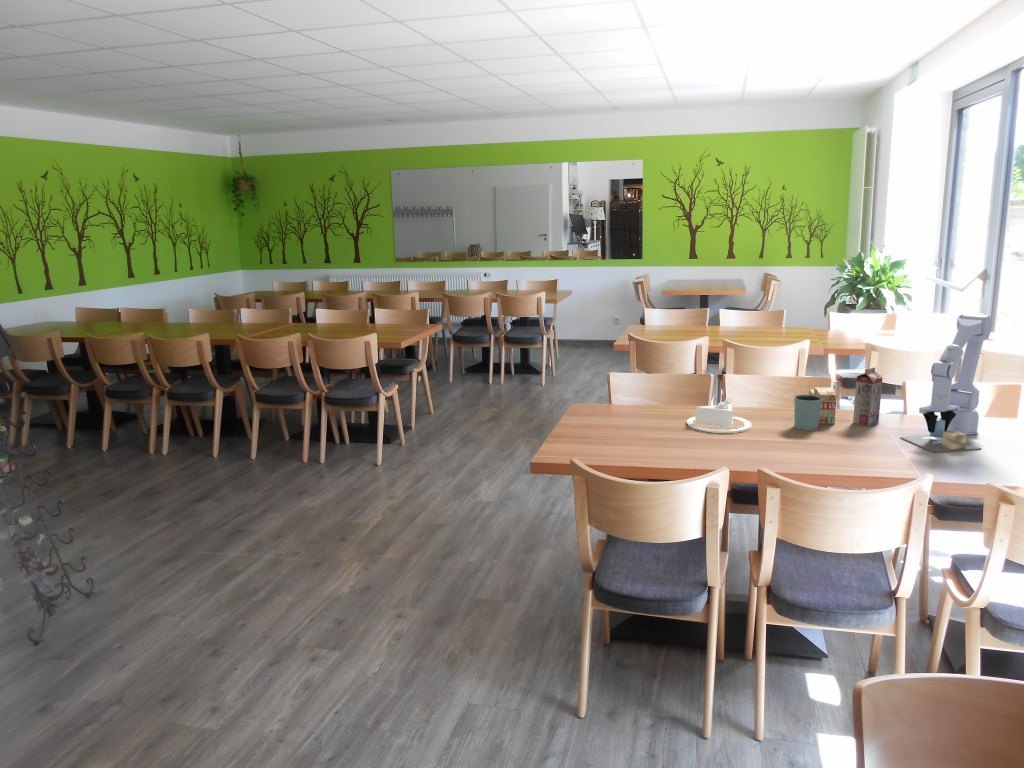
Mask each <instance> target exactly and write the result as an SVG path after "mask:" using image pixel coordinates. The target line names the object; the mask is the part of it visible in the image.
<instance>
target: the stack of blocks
mask: <svg viewBox="0 0 1024 768" xmlns="http://www.w3.org/2000/svg"><path fill="white" fill-rule="evenodd" d="M808 391H809V393H808V395H814V396H819V397H821V398H822V404H821V410H820V418H819V423H821V424H820V425H835V423H836V422H835V421H836V410H837V399H838V394H837V393H836V391H834V390H833V389H832V388H831V387H829V386H826V387H819V386H818V387H817V386H815V387H814V388H813V389H809V390H808Z"/></svg>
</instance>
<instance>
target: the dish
mask: <svg viewBox="0 0 1024 768" xmlns="http://www.w3.org/2000/svg"><path fill="white" fill-rule="evenodd" d="M733 402H734V400H733V398H731V397H727V398H726V399H724V401H721V402H718V403H717V404H715V405H701V406H695V410H694V411H695V414H694V415H695V416H691V417H688V419H687V420H686V425H687V424H688V425H689V426H690V427H692V428H695V429H698V430H702V431H707V432H714V433H713V434H715V433H735V432H742V433H744V432H743V431H745V432H747V431H746V430H748V431H750V430H751V429H752V428H751V427H753V424H752V422H751V421H750V420H747V419H746V418H743V417H739V416H736V415H735V416H734V410H733V408H732V406H731V404H732V403H733ZM733 419H736V420H739V421H742V422H743V423H744V425H745V426H744V427H741V428H738V429H730V430H727V429H725V428H724V427H728V428H732V424H733ZM694 420H695V423H700V424H706V425H713V426H720V427H722V428H723V429H722V428H719V429H709V428H703V427H700V426H697V425H695V424H694V423H693V421H694ZM690 427H689V428H690ZM750 428H751V429H750ZM749 429H750V430H749ZM735 434H736V433H735Z"/></svg>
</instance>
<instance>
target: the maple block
mask: <svg viewBox="0 0 1024 768" xmlns="http://www.w3.org/2000/svg"><path fill="white" fill-rule="evenodd" d="M966 442H967V435H966V434H964V433H961V432H958V431H945V432H943V440H942V445H943V446H945V447H947V448H950V449H965V445H966Z"/></svg>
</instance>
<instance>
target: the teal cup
mask: <svg viewBox="0 0 1024 768" xmlns="http://www.w3.org/2000/svg"><path fill="white" fill-rule="evenodd" d="M793 399H794V404H793V406H794V410H793V411H794V415H793V416H794V428H795V427H796V428H795V429H797V428H798V429H797V430H800V429H802V430H801V431H806V430H812V431H816V429H817V430H818V429H819V425H820V424H819V418H820V410H821V404H822V398H821V397H819V396H814V395H809V394H799V395H794V397H793Z"/></svg>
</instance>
